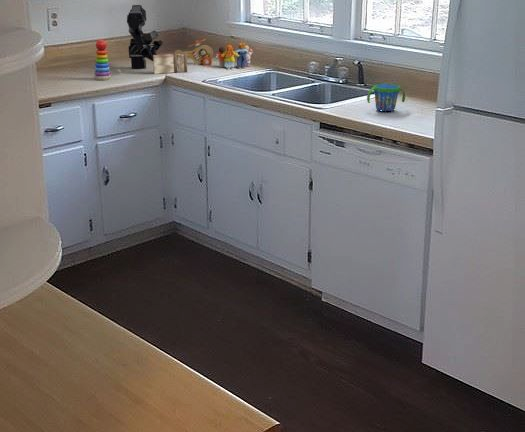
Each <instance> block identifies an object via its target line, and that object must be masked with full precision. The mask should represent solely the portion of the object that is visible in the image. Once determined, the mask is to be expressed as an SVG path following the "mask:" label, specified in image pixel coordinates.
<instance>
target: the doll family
mask: <svg viewBox="0 0 525 432" xmlns="http://www.w3.org/2000/svg"><path fill="white" fill-rule="evenodd" d="M237 46H238V49H236V50H234V48H233V46H232V45H231V44H227V45H226V47H223V46H222V47H221V46H220V47H219V48H218V53H216V56H215V59H218V58H219V60H218V62H219V68H221V69H222V68H223V69H225V70H227V71H232V70H233V71H234V70H235V68H234V67H235V62H236V68H237V69H239V70H240V69H245V68H250V67H251V65H250V64H251V56H252V54H253V53H254V52H253V49H252V48H250V47H249V45H246V42H239V43H238V44H237ZM235 57H237V59H235ZM236 60H237V61H236Z"/></svg>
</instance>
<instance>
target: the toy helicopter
mask: <svg viewBox="0 0 525 432" xmlns="http://www.w3.org/2000/svg"><path fill="white" fill-rule="evenodd" d="M206 40H207V39H206V38H205V39H202V40H197V39H196V40H195V41H194V43H193V44H190V45H188V47H187V48H190V47H193V46H194V49H193V50H189V51H182V50H180V49H176V50H174V52H173V53H177V54H183V53H187V59H188V58H189V59H192V60H193V65H195V66H196V65H203V66H204V67H205V66H211V65H212V63H213V61H212V60H213V58H214V50H213V48H212V47H211V46H209V45H207V44H202V42H204V41H206ZM177 60H178V56H177Z"/></svg>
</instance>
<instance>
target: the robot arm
mask: <svg viewBox="0 0 525 432" xmlns="http://www.w3.org/2000/svg"><path fill="white" fill-rule="evenodd" d="M146 21H147V11H146V9H145V8H143V6H142V4H132V5H131V9H130V10H129V12H128V14H127V16H126V24H127V26H128V32H129V35H130V36H131V37H132V38H130V40H129V41H130V42H129V45H128V58H129V59H130V62H131V65H130V66H131V69H132V70H145V69H146V68H147V60H146V59H148V60H149V61H151V62H153V55H158V54H157V51H158V50H159V49H160V48H161V47H162V46H163V44H164V42H163V41H162V40H161V39H158V37H159V33H158V31H156V30H151V31H150V32H149V33H147V32H146V33H145V32H144V31H143V27H144V26H145V25H146ZM155 39H156V40H155Z"/></svg>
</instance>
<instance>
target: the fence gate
mask: <svg viewBox="0 0 525 432" xmlns="http://www.w3.org/2000/svg"><path fill="white" fill-rule="evenodd" d="M152 62H153V74H169V73H179V72H178V59H177V53H174V52H173V53H168V54H157V55H153V61H152Z"/></svg>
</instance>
